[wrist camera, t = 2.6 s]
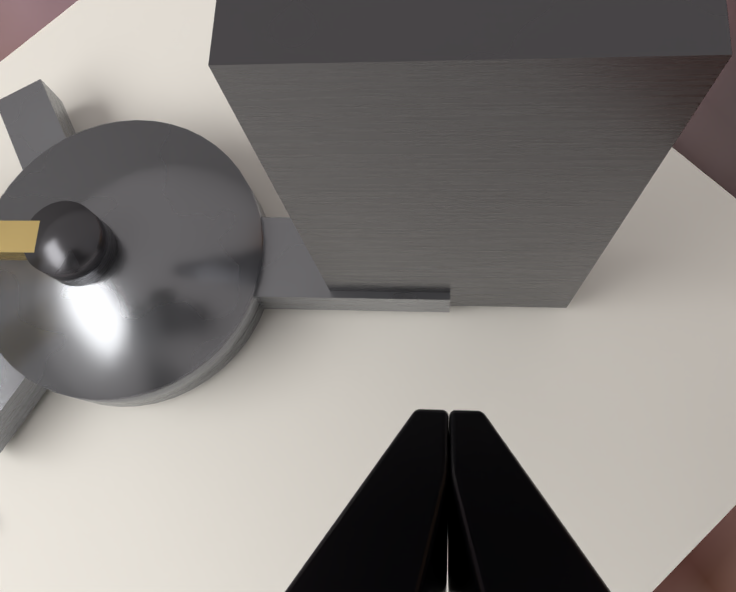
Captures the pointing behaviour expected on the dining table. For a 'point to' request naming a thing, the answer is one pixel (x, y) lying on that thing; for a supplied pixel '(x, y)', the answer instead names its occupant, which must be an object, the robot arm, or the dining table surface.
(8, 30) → the dining table surface
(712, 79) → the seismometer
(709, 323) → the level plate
